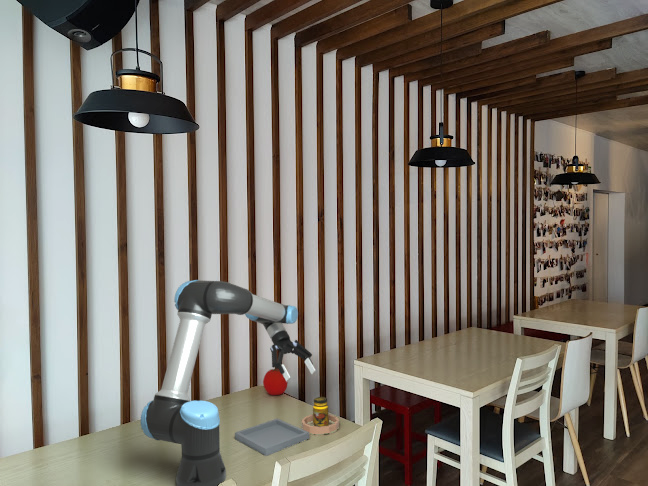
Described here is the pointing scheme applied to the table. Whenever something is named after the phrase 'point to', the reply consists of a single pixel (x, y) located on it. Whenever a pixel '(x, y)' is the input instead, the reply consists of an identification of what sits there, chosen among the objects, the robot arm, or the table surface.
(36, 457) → the table surface
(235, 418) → the table surface
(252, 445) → the tray
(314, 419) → the condiment
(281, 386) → the tomato
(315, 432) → the ring holder
